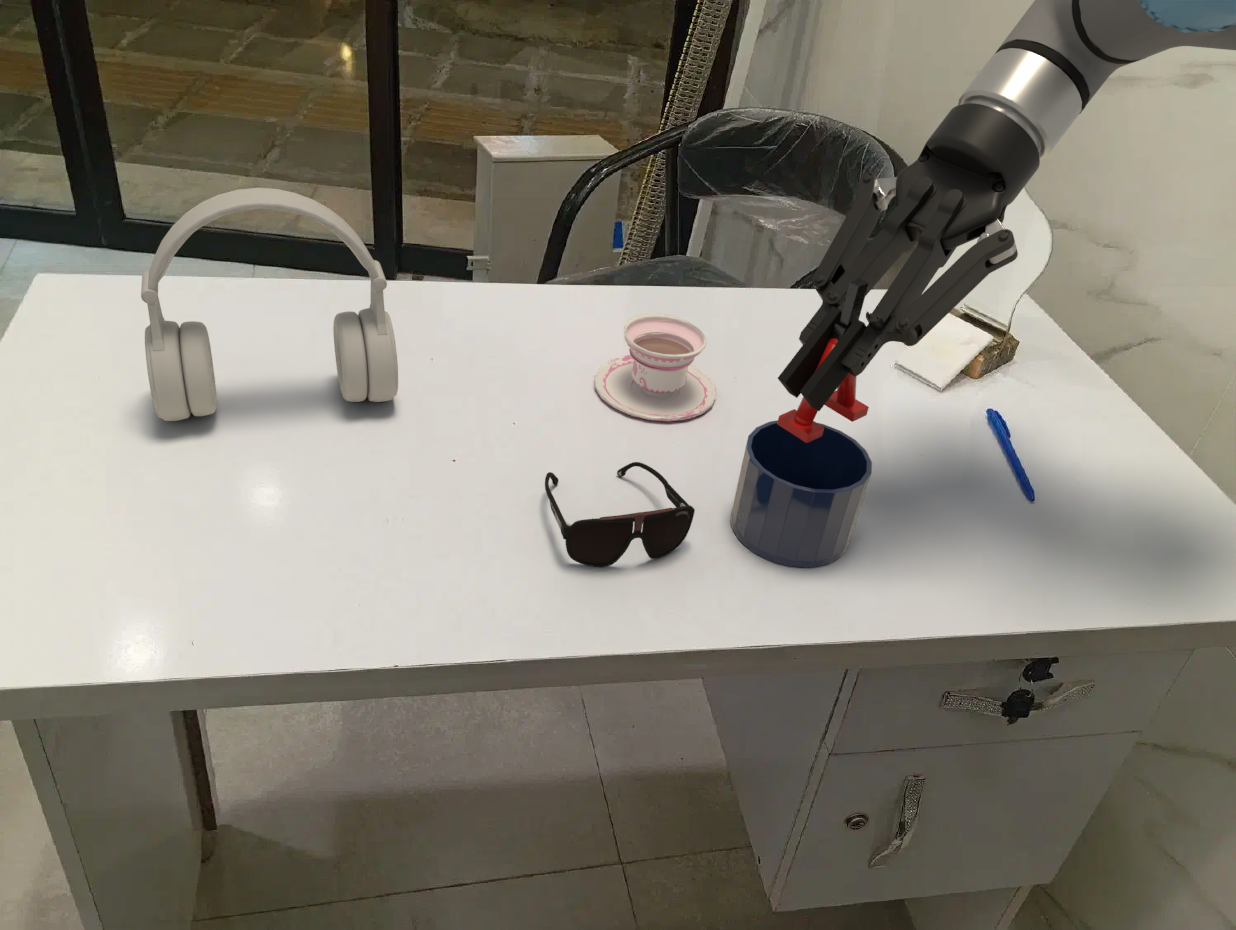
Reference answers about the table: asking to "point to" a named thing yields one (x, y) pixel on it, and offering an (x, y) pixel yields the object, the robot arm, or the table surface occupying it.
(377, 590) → the table surface
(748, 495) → the pen cup
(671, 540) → the sunglasses
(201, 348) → the headphones
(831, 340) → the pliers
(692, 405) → the teacup
